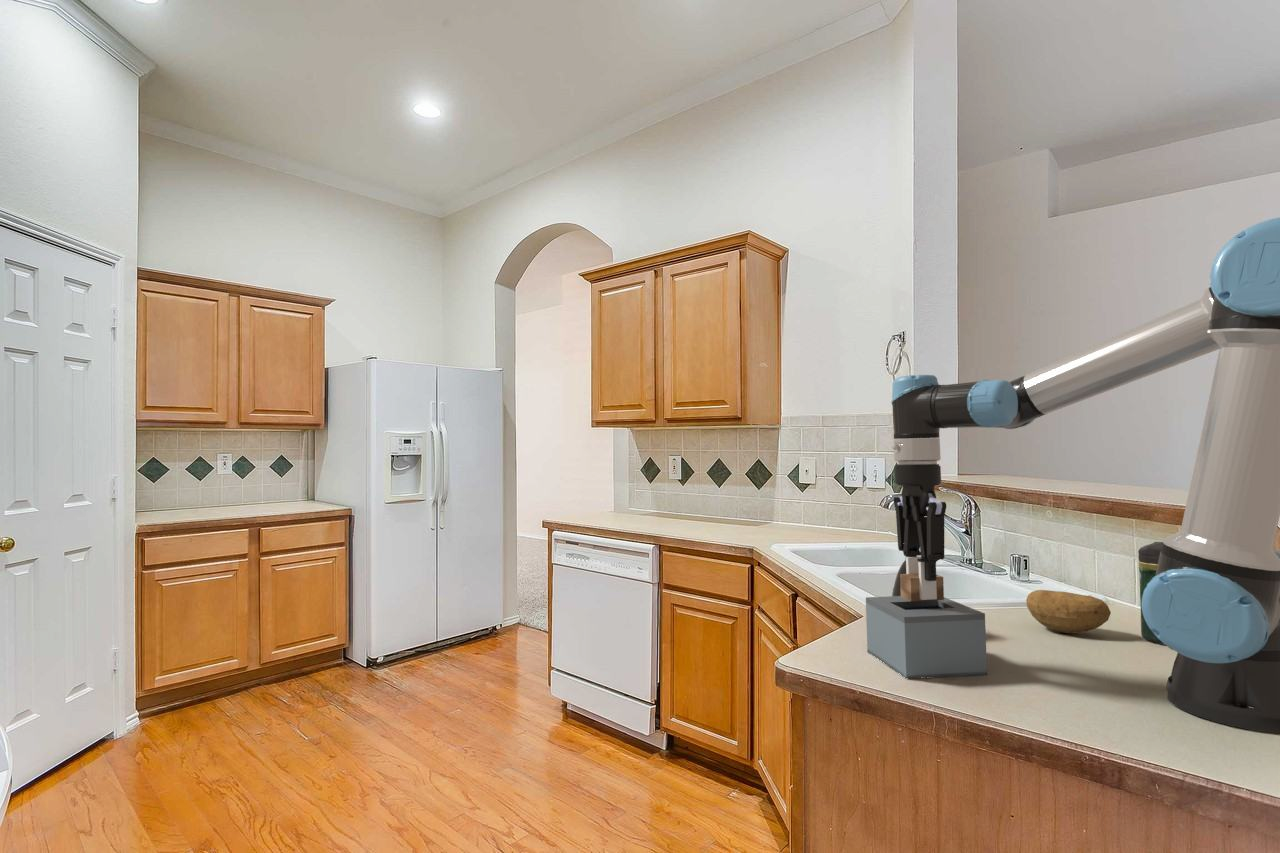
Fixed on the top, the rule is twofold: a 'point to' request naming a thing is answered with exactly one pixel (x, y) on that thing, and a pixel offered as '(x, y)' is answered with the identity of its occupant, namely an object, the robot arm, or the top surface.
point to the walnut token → (911, 587)
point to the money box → (926, 637)
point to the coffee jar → (1148, 580)
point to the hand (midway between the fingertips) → (921, 595)
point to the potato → (1067, 611)
